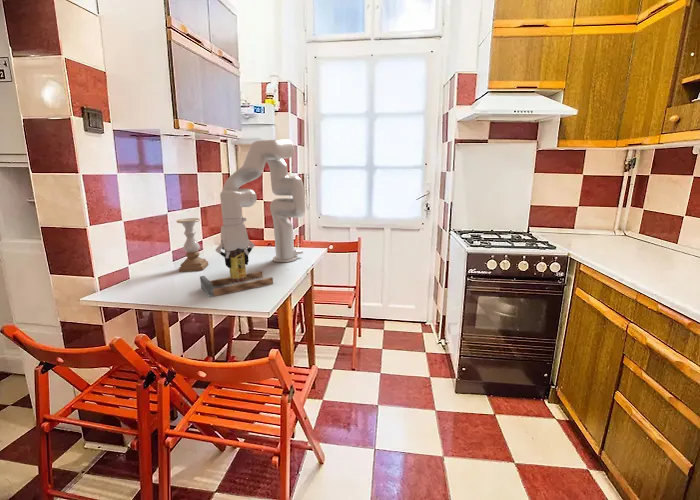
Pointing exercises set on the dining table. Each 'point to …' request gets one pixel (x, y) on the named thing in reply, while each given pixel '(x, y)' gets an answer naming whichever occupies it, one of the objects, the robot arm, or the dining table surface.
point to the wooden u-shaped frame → (219, 286)
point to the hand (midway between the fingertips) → (237, 265)
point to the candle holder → (191, 248)
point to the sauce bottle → (237, 266)
